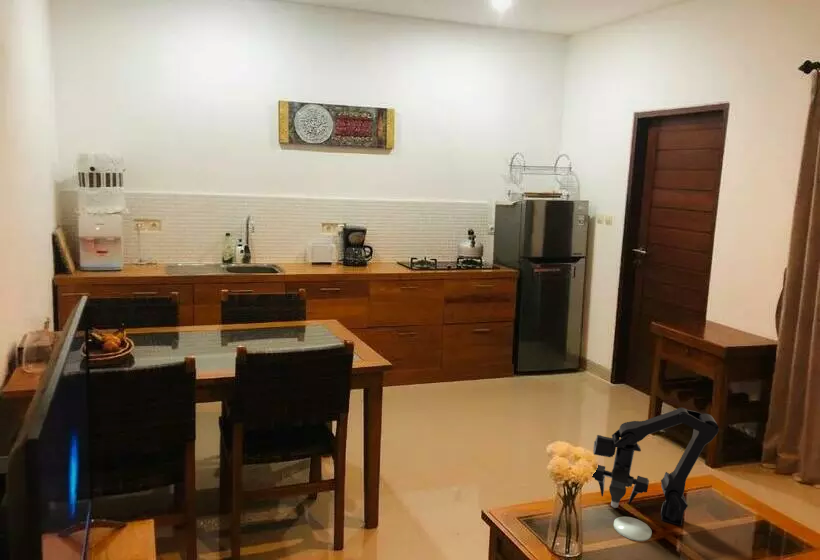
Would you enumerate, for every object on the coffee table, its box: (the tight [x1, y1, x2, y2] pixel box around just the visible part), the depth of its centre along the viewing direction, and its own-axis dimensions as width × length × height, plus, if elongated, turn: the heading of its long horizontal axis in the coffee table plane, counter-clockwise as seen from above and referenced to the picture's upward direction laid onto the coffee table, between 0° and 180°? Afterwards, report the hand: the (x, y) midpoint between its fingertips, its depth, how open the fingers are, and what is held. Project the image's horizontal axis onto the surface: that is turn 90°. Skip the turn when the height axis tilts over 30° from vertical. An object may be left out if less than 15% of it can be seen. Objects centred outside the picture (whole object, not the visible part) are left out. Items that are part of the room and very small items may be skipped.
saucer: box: [613, 516, 653, 542], centre depth 219 cm, size 12×12×1 cm
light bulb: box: [608, 483, 627, 509], centre depth 230 cm, size 6×6×10 cm
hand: (615, 499), depth 231 cm, fingers open, 9 cm apart
